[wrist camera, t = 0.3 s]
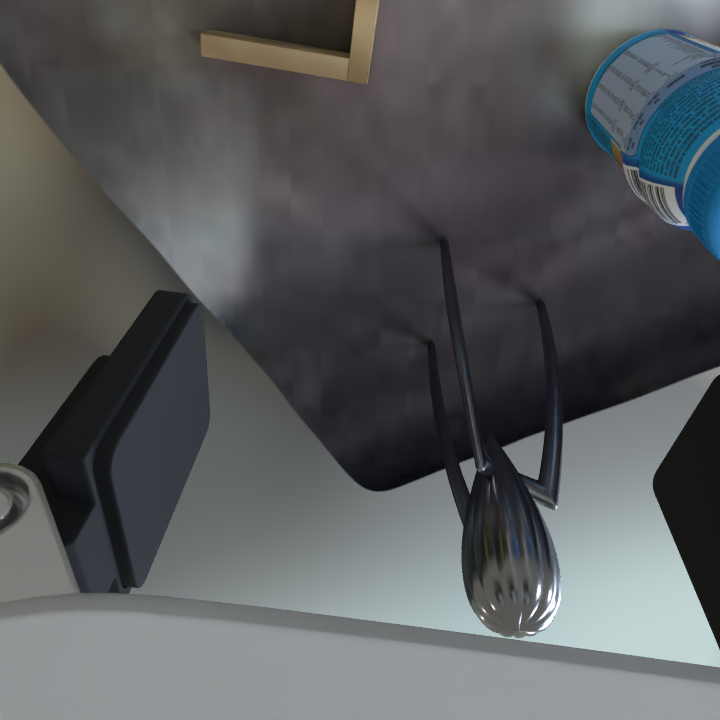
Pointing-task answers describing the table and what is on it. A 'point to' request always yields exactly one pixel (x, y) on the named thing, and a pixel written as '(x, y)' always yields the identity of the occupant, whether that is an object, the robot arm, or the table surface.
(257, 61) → the holder
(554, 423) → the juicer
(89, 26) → the table surface
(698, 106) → the blue labeled canister
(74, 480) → the robot arm
